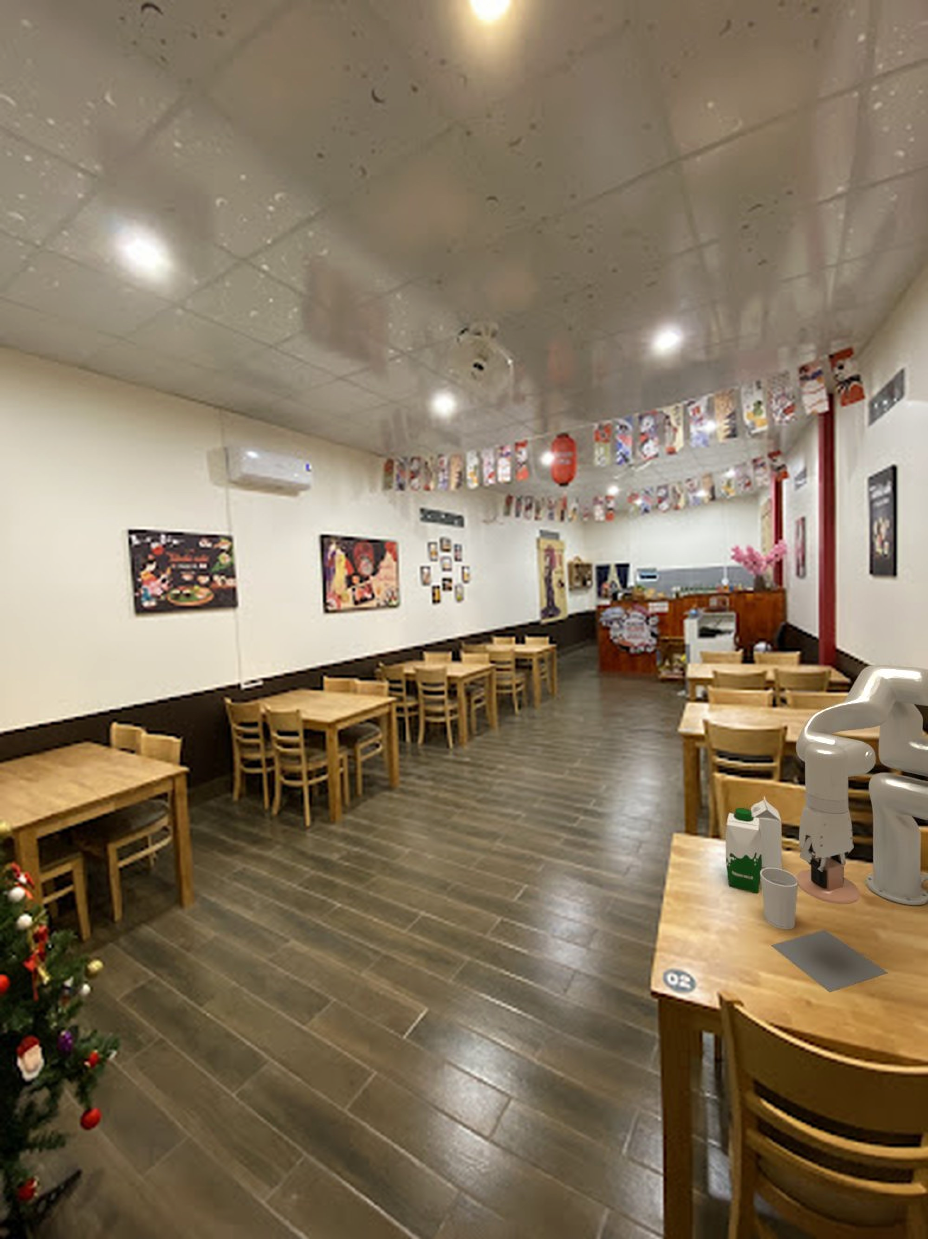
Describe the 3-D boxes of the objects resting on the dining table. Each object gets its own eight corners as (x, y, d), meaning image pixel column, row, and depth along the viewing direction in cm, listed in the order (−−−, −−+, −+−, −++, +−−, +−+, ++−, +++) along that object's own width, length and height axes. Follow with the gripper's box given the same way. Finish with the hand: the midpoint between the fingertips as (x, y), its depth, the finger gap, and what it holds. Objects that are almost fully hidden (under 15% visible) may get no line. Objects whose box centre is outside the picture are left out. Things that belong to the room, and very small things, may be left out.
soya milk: (762, 879, 141) (761, 810, 140) (761, 896, 134) (761, 824, 132) (727, 871, 146) (726, 804, 145) (725, 887, 138) (723, 817, 137)
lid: (822, 869, 116) (822, 844, 116) (872, 897, 106) (872, 870, 105) (785, 879, 113) (784, 854, 113) (832, 909, 103) (831, 881, 102)
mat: (824, 932, 119) (824, 929, 119) (888, 976, 106) (888, 972, 106) (770, 948, 115) (770, 945, 115) (829, 995, 102) (829, 992, 102)
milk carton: (778, 858, 151) (777, 797, 150) (782, 871, 145) (781, 807, 143) (751, 854, 154) (750, 794, 153) (753, 866, 148) (752, 804, 146)
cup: (805, 936, 118) (804, 887, 118) (768, 933, 120) (767, 885, 119) (790, 914, 126) (789, 868, 126) (755, 911, 128) (755, 866, 127)
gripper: (839, 789, 114) (839, 866, 115) (780, 801, 110) (781, 881, 111) (873, 802, 107) (873, 884, 108) (812, 816, 102) (813, 901, 104)
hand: (827, 882), depth 109 cm, fingers closed on lid, 4 cm apart
